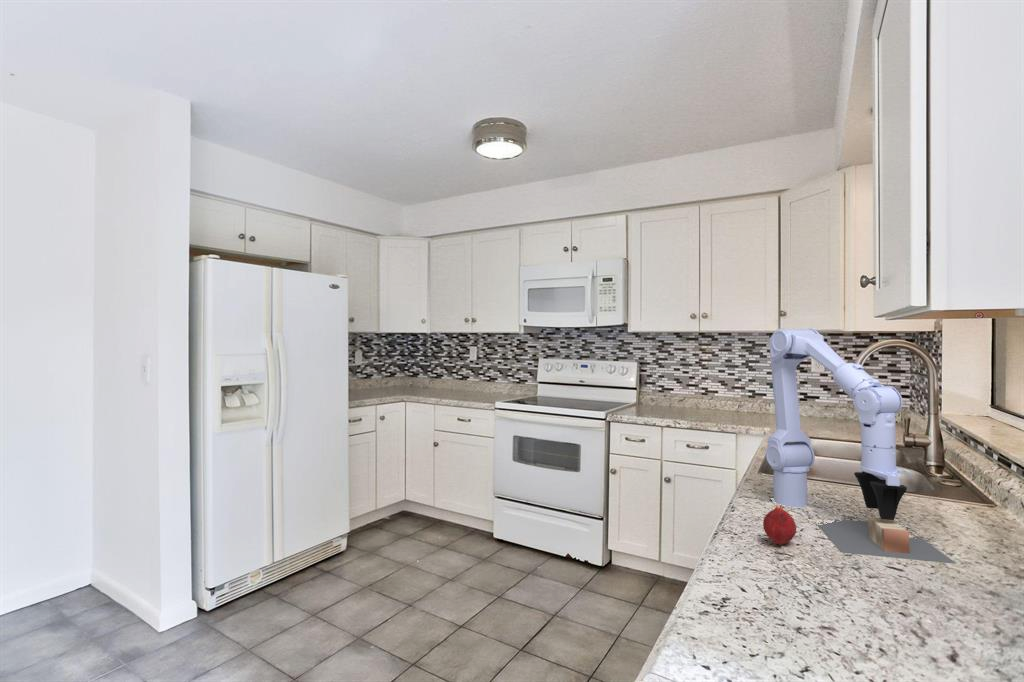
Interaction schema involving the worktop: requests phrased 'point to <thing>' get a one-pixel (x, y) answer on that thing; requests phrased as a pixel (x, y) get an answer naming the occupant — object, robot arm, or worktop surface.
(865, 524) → the mat
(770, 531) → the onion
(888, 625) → the worktop surface
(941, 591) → the worktop surface
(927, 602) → the worktop surface
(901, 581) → the worktop surface
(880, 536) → the block
